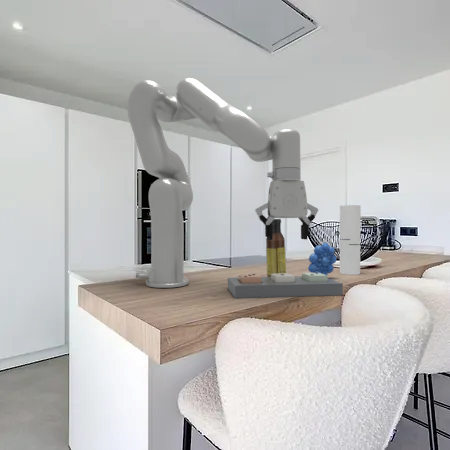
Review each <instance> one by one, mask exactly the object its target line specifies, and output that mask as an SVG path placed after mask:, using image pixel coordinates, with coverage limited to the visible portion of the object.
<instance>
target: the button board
mask: <svg viewBox="0 0 450 450" xmlns="http://www.w3.org/2000/svg"><path fill="white" fill-rule="evenodd" d="M294 276H295V275H294ZM343 285H344V284H343V282H340V281H337V280H334V279H331V278H330V277H327V281H326V282H308V281H305V280H303V279H302V276H301V275H300V276H297V275H296V276H295V282H281V283H275V282H273V281H272V280H271V277H267V276H261V283H240V282H239V276H237V277H227V289H228V291H229V292H230V294H231V293H232V294H231V295H232V297H234V299H254V298H258V297H260V298H288V296H295V297H320V296H321V297H325V296H327V297H328V296H343V295H344V294H343V293H344V292H343V291H344V290H343V289H344V287H343Z"/></svg>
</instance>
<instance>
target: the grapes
mask: <svg viewBox="0 0 450 450" xmlns="http://www.w3.org/2000/svg"><path fill="white" fill-rule="evenodd" d="M335 251H336V249H335V248H334V247H333V246H330V245H329V243H328V242H324V243H322V244H321V245H316V246H315V247H314V249H313V253H311V254H310V255H309V257H308V260H309V261H308V262H310V263H309V265H308V267H307V268H308V273H322V274H324V275H327V276H329V275H328V274H331V273H333V272H334V270H335V269H334V264H335V263H336V262H337V257H336V255H335Z"/></svg>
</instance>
